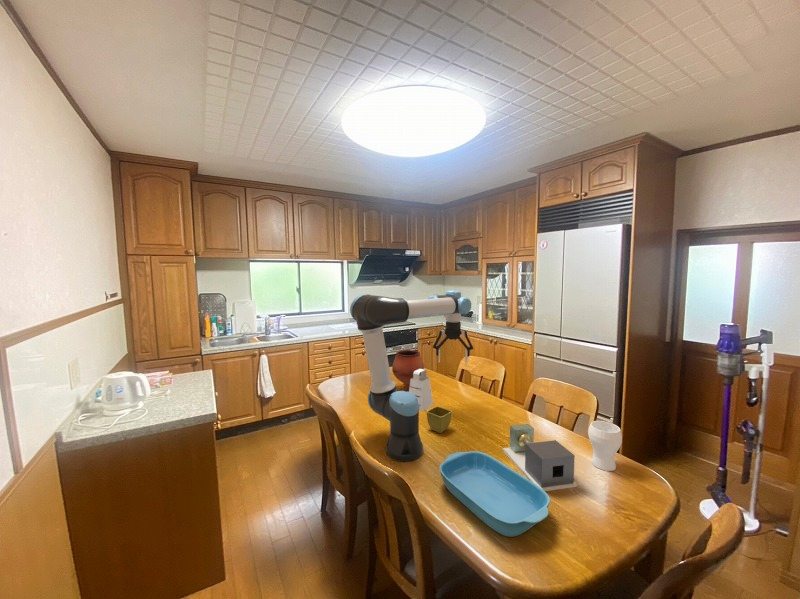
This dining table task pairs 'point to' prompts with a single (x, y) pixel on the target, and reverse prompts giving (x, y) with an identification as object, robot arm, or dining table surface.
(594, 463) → the cup
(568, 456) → the bearing block
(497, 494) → the casserole dish
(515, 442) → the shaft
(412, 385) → the grater
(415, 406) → the robot arm
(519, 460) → the base board
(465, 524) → the dining table surface
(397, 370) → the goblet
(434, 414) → the flower pot
